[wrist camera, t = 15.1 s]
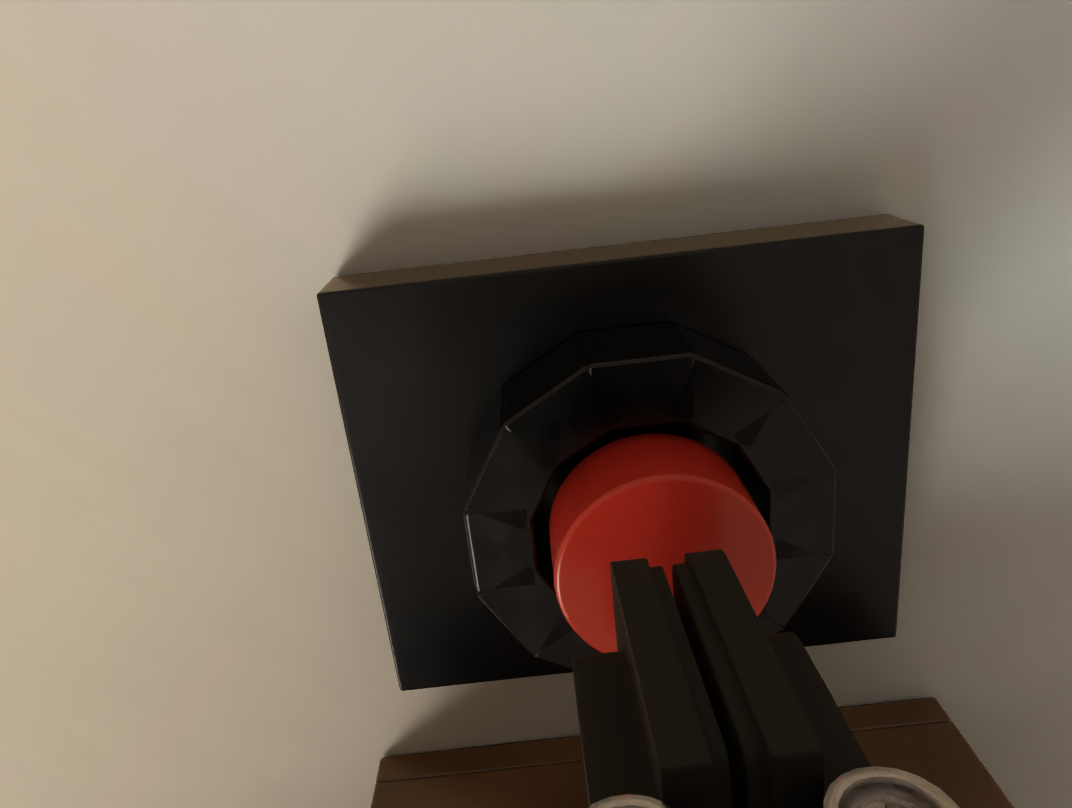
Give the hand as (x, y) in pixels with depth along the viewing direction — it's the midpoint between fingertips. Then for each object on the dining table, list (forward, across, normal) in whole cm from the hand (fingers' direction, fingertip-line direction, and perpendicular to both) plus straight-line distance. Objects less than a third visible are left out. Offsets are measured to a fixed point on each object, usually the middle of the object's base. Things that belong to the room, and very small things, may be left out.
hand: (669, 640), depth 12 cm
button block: (+6, 0, 0) cm, 6 cm away
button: (+3, 0, 0) cm, 3 cm away
